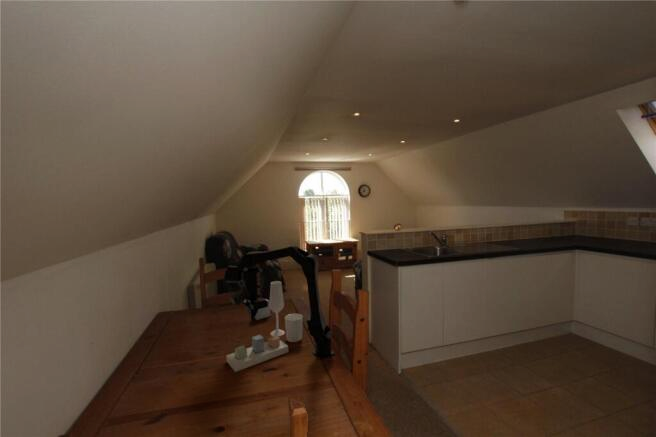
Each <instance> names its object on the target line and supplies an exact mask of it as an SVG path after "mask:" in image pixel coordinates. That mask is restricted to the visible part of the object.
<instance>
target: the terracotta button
mask: <svg viewBox="0 0 656 437" xmlns="http://www.w3.org/2000/svg"><path fill="white" fill-rule="evenodd" d="M267 340H268V341H267V342H268V345H269V346H270V347H271V348H274V347H277V346H280V340H281V338H280V336H276V335H274V336H272V335H270V336H269V337H268V338H267Z"/></svg>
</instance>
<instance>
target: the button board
mask: <svg viewBox="0 0 656 437" xmlns="http://www.w3.org/2000/svg"><path fill="white" fill-rule="evenodd" d="M246 349H247V357H246V358H243V359H241V360H237V359H236V358H235V352H233V353H229V354H226V362H227V364H228V365H229V367H231V369H232V370H233V371H234V373H236V372H239V371H242V370H245V369H246V368H250V367H252V366H255V365H257V364H260V363H263V362H265V361H268V360H271V359H273V358H277V357H278V356H282V355H284V354H286V353H289V345H288V344H286V343H285V342H284V341H282V340H281V339H280V346H277V347H274V348H271V347H270V346H269V345H268V341H266V342H265V341H264V350H263V351H260V352H257V353H256V352H254V351H253V350H252V346H251V347H247V348H246Z"/></svg>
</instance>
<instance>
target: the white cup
mask: <svg viewBox="0 0 656 437" xmlns="http://www.w3.org/2000/svg"><path fill="white" fill-rule="evenodd" d="M303 318H304V317H303V315H302V314H300V313H288V314H287V315H284V323H285V324H284V325H285V327H284V328H285V335H286V341H287V342H290V343H297V342H299V341H301V340H302V339H303Z"/></svg>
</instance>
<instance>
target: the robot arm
mask: <svg viewBox="0 0 656 437" xmlns="http://www.w3.org/2000/svg"><path fill="white" fill-rule="evenodd" d="M288 257H290V258H292V259H293V261H294V262H295V263H297V264H298V265H300V266H301V270H302V273H303V275H304V277H305V279H306V285H307V292H308V301H309V311H310V315H309V316H308V318H307V319H306V324H307V330H306V331H307V332H308V331H309V335H310V336H311V337H312V338H313V342H314V344H315V347H314V348H315V350H313V351H312V354H313V355H314V356H316V357H317V358H319V359H320V360H324V359H326V358H328V357H331V356H333V355H335V352H334V351H332V340H331V333H332V328H331V327H330V326H329V325H328V324H327V322H326V319H325V315H324V313H323V312H322V307H321V306H322V305H321V298H320V289H319V282H318V274H319V273H318V272H319V263H320V262H319V261H320V259H319V257H318V256H317V255H316V254H314V253H309V252H308V251H306V250H304V249H302V248H300V247H298V246H297V245H295V244H292V245H290V246H286V247H285V246H284V247H281V248H277V249H272V250H271V249H270V250H267V251H258V250H256V251H249V252H247V253H245V254H243V255H242V256H241V257H240V262H239V264H238V265H235V266H234V265H228V266H227V267H226V270H225V273H224V281H225V282H226V283H241V282H242V281H243V284H242V286H241V289H240V290H237V291H236V292H233V293H232V294H230V296H229V299H230V300H231V303H232V304H233V305H234V306H239V305H240V304H242V305H243V306H244V307H246V309H247V312H248V315H249V319H250V321H254V320H255V316H256V314H257V312H258V309H261V308H265V307H268V301H266V300H265V299H266V298H263V297H261V294H260V293H259V288H261V285H260V284H259V274H260V273H261V272H263V268H262V267H261V266H259V265H260V264H261V263H264V262H268V261H274V260H278V259H282V258H288ZM254 266H255V267H254Z"/></svg>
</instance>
